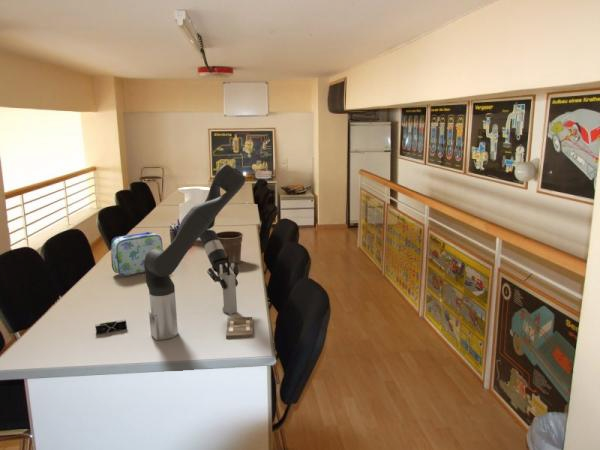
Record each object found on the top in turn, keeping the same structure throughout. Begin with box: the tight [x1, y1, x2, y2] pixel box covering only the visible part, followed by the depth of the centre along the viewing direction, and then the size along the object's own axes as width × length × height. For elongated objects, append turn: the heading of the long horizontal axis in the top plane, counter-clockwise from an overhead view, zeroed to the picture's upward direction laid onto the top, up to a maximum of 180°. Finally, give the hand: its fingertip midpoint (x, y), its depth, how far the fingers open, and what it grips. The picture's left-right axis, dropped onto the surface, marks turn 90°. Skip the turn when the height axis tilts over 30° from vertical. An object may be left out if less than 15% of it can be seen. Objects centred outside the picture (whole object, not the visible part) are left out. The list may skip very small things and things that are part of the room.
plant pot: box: [216, 230, 244, 265], centre depth 276 cm, size 16×16×16 cm
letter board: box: [225, 316, 254, 339], centre depth 192 cm, size 16×10×1 cm, turn 6°
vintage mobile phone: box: [222, 256, 238, 315], centre depth 205 cm, size 4×5×25 cm
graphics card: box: [94, 318, 128, 335], centre depth 190 cm, size 12×3×5 cm, turn 115°
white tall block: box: [177, 186, 213, 241], centre depth 322 cm, size 35×11×21 cm
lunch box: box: [110, 231, 164, 277], centre depth 261 cm, size 26×11×21 cm, turn 131°
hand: (230, 287), depth 204 cm, fingers closed on vintage mobile phone, 4 cm apart
